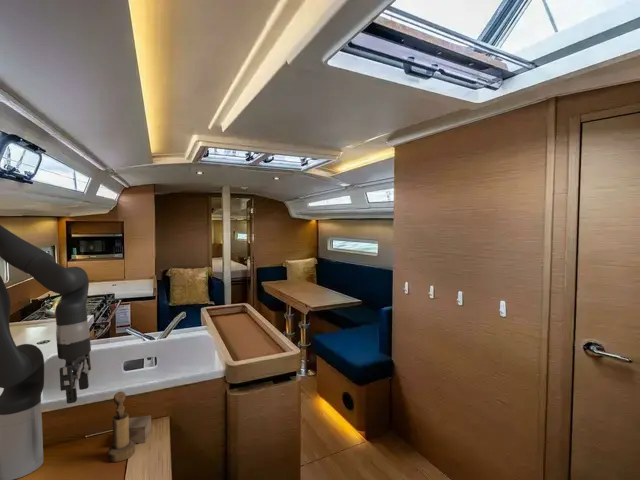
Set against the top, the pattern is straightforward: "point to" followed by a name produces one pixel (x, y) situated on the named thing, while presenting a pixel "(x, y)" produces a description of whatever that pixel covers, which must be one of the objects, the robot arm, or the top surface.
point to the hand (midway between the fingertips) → (78, 395)
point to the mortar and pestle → (120, 433)
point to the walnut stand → (139, 429)
